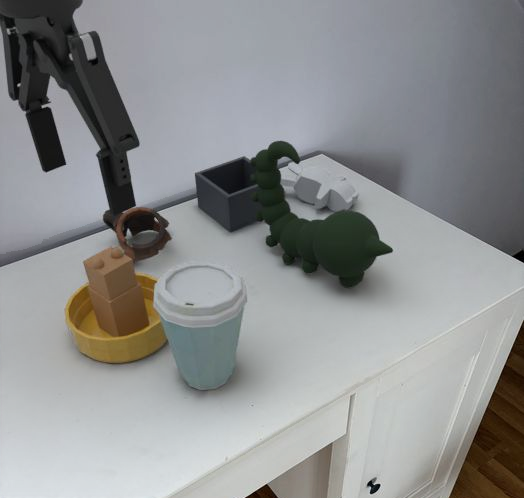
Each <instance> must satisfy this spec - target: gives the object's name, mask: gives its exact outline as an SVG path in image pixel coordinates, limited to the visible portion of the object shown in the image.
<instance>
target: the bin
mask: <svg viewBox="0 0 524 498" xmlns="http://www.w3.org/2000/svg"><path fill="white" fill-rule="evenodd" d="M250 160H251V158H248V157H247V156H245V155H244V156H240V157H238V158H235V159H232V160H228V161H226V162H223V163H220V164H217V165H214V166H212V167H208V168H205V169H202V170H200V171H197V172H195V173H194V179H195V180H194V181H195V187H196V188H195V189H196V198H197V199H196V200H197V206H198V207H197V208H199V209H200V210H201V211H202V212H204V213H205V214H206V215H207V216H208V217H210V218H211V219H213V220H214V221H215V222H217V224H219V225H220V226H222V227H223V228H224V229H225V230H227V231H228V232H229V233H233V232H235V231H238V230H240V229H242V228H245V227H247V226H250V225H252V224H255V223H257V222H258V221H256V219H255V218H254V217H255V213H256V212H257V211H260V210H261V207H262V205H261V204H260V202H259V201H258V202H254V201H252V199H251V196H252V194H253V193H255V192H257V193H258V189H259V186H258V185H257V183H256V184H255V183H252V182H251V181H250V177H251V175H252V174H256V171H257V169H256V167H255V166H252V165H251V164H250Z"/></svg>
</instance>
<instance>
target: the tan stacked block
mask: <svg viewBox="0 0 524 498" xmlns="http://www.w3.org/2000/svg"><path fill="white" fill-rule="evenodd" d="M82 264H83V267H84V271H85V274H86V278H87V281H88V283H89V284H90V285H89V286H87V289H88V292H89V295H90V299H91V302H92V305H93V309H94V312H95V316H96V319H97V322H98V326H99V327H100V328H101V329H103V330H104V331H105V332H107V333H108V334H110V335H111V336H112V337H121V336H127V335H130V334H133V333H136V332H138V331H140V330H141V329H143V328H145V327H146V326H148V325H149V320H148V315H147V310H146V306H145V301H144V296H143V291H142V287H141V284H139V283H138V282H137V279H136V274H135V273H136V270H135V265H134V263H133V260H132V259H131V258H129V257H128V256H126V255H125V254H124V250H123V248H122V247H118V246H115V247H113V246H108V247H107V248H105V249H103V250H100V251H99V252H98V253H95V254H93V255H92V256H90V257H88V258H86V259H85V260H83V261H82Z"/></svg>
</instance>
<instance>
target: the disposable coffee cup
mask: <svg viewBox="0 0 524 498" xmlns="http://www.w3.org/2000/svg"><path fill="white" fill-rule="evenodd" d="M157 279H158V282H157V283H156V284H155V287H154V304H153V307H154V308H155V309H156V310H157V311H158V314H159V317H160V319H161V322H162V325H163V328H164V330H165V333H166V336H167V339H168V340H167V341H168V344H169V347H170V350H171V352H172V355H173V358H174V362H175V364H176V366H177V369H178V372H179V374H180V376H181V377H182V379H183V380H184V381H185V382H186V384H187V385H188V386H189V387H191V388H194V389H197V390H199V391H210V390H212V391H213V390H215V389H218V388H220V387H222V386H225V384H226V383H227V382H228V380H229V378H230V377H231V376H232V374H233V372H234V370H235V369H234V368H235V364H236V363H235V362H236V357H237V351H238V345H239V344H238V343H239V339H240V333H241V327H242V321H243V316H244V309H245V306H246V304H247V303H248V302H249V301H248V294H247V286H246V282H245V279H244V278H243V277H242V276H241V275H240V274H239V273H237V272H236V271H235V270H234V269H233V268H232V267H230V266H229V265H226V264H222V263H219V262H216V261H211V260H197V261H195V260H193V261H186V262H184V263H180V264H178V265H175V266H171V267H170V268H169V267H168V269H167V270H166V271H165V272H164V273H163V274H161V276H159V278H157Z"/></svg>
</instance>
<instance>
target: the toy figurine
mask: <svg viewBox="0 0 524 498" xmlns="http://www.w3.org/2000/svg"><path fill="white" fill-rule="evenodd" d="M283 158H287V159H289V160H291V161H292V162H295V163H296V164H299V165H300V163H301V158H300V155H299V154H298V151H297V149H296V148H295V147H294V146H293V144H291V143H289V141H288V142H287V141H285V140H276V141H273V142H271V143H270V144H269V145H268V147H267V148H266V149H261V150H260V151H258V152H257V153H256V155H255V156H253V157H251V158H250V164H251V165H252V166H255V167H256V169H257V171H256V174H252V175H251V177H250V181H251V182H252V183H255V184H256V183H257V185H258V186H259V189H258V193H257V192H255V193H253V194H252V196H251V199H252V201H254V202H258V201H259V202H260V204H261V205H262V207H261V210H260V211H257V212H256V213H255V217H254V218H255V219H256V221H257V222H259V223H262V222H264V224H266V225H267V226H269V233H270V234H269V235H267V236H266V237H265V245H266V246H267V247H269V248H275V247H277V246H278V245H280V247H281V250H282V251H283V253H282V256H281V259H282V261H283V263H284V264H287V265H291V264H293V263H294V262H295V261H296V259H299V260H301V263H300V268H301V270H302V271H303V273H305V274H308V275H311V274H314V273H315V272H317V271H318V270H319V266H320V267H321V268H322V269H323V270H324V271H325V272H326V273H329V274H330V275H332V276H335V277H338V281H339V284H340V285H341V287H343V288H346V289H351V288H353V287H355V286H357V285H358V284H360V283H361V282H362V281H363V279H364V277H365V274H366V273H365V272H366V271H368V269H370V268H371V267H372V265H373V264H374V263H375V261H376V260H377V257H381V256H385V255H388V254H393V253H394V248H392V247H391V246H390V245H388V244H387V243H385V242H384V241H382V240H381V239H380V233H379V231H378V229H377V227H376V225H375V223H373V221H372V220H371V219H370V218H369V217H368V216H366V215H365V214H363V213H361V212H358V211H355V210H341V211H337V212H334V213H331V214H329V215H328V216H327V217H326V218H324V219H319V218H318V219H317V218H315V219H311V220H309V219H307V218H303V217H299V216H298V215H297V214H295V213H294V212H293V211H292V210H291V207H290V204H289V202H288V201H287V200H286V191H285V187H284V186H282V185H281V184H280V182H281V174H282V173H281V170H280V169H279V167H278V162H279V160H281V159H283Z"/></svg>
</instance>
